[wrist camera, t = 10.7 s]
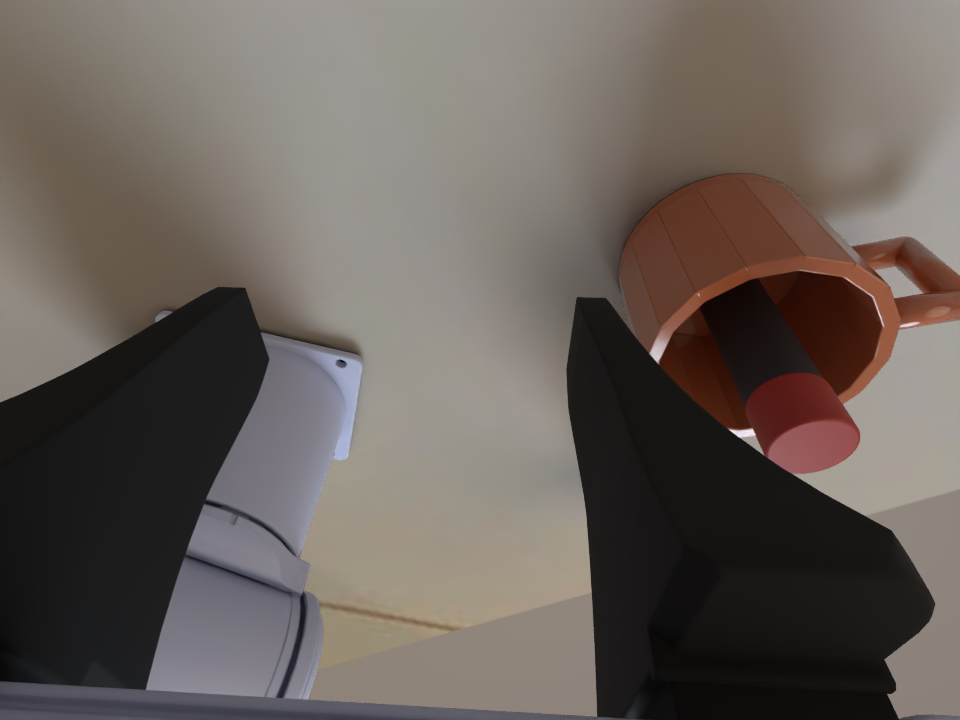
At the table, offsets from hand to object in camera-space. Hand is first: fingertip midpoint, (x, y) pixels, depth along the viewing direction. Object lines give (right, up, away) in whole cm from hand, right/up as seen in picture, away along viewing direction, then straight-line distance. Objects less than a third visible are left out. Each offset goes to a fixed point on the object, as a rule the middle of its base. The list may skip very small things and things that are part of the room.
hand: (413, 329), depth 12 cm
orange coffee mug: (+12, +3, +9) cm, 16 cm away
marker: (+11, +3, +9) cm, 14 cm away
